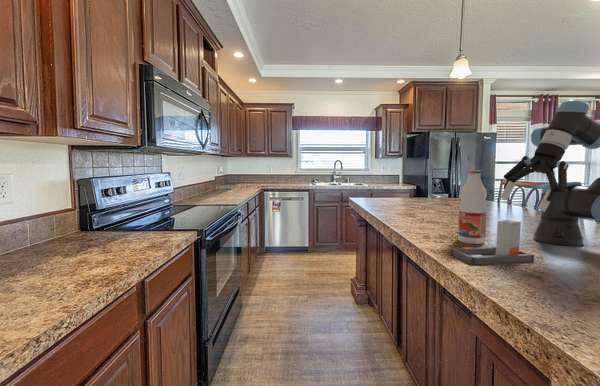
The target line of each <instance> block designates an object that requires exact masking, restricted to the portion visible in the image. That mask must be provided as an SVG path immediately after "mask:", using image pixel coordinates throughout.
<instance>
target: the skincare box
mask: <svg viewBox="0 0 600 386" xmlns="http://www.w3.org/2000/svg"><path fill="white" fill-rule="evenodd" d="M521 224H522V222H521V221H519V220H512V219H505V220H503V219H502V220H498V221H497V229H496V230H497V231H496V243H495V244H496V245H495V246H496V254H495V256H496V255H516V254H519V250H520V240H521Z"/></svg>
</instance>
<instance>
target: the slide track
mask: <svg viewBox="0 0 600 386" xmlns="http://www.w3.org/2000/svg"><path fill="white" fill-rule="evenodd" d="M450 255H451V256H453V257H454V258H457V259H459V260H461V261H464V262H466V263H468V264H470V265H472V266H473V265H486V264H487V265H489V264H490V265H491V264H511V263H528V262H530V261H531V262H535V254H532V253H529V252H526V251H523V250H520V249H519V254H516V255H496V245H493V246H488V247H487V246H484V247H483V246H482V247H471V246H466V247H464V246H463V247H461V248H460V247H459V248H450ZM531 262H530V263H531Z"/></svg>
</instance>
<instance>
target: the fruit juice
mask: <svg viewBox="0 0 600 386" xmlns="http://www.w3.org/2000/svg"><path fill="white" fill-rule="evenodd" d="M466 174H467V179H466V180H465V184H464V185H463V186H462V188H461V190H460V192H459V195H460V198H461V201H460V202H459V205H458V206H459V208H458V230H457V231H458V237H457V238H458V241H459V242H460V243H463V244H464V243H465V244H469V245H482V244H485V241H486V234H487V233H486V229H487V204H486V199H487V196H488V195H487V194H488V192H487V189H486V188H485V186H484V185H483V182H482V179H481V175H482V170H480V169H479V170H478V169H477V170H475V169H474V170H473V169H472V170H470V169H469V170H467V171H466Z"/></svg>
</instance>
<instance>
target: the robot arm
mask: <svg viewBox="0 0 600 386" xmlns="http://www.w3.org/2000/svg"><path fill="white" fill-rule="evenodd" d="M589 109H590V107H589V105H588V103H587V102H585V101H582V100H577V99H567V100H564V101H562V102H561V103H560V105H559V107H558V109H557V110H555V113H554V115H553V117H552V119H551V121H550V123H549V125H547V126H546V125H545V126H540V127H536V128H534V129H533V131H532V132H531V134H530V141H531V142H530V143H532V145H533V146H535V147H536V149H535V151H534V153H533V154H534V155H533V157H528V156H527V155H523V157H522V158H521V159H520V160H519V162H518V163H516V164H515V166H513V167H512V168H511V169H510V170H509V171H507V172H506V173H505V174H504V175H503V178H504V179H505V180H506V182H505V184H504V186H503V187H502V189H503V191H502V193H501V195H500V197H499V198H500V199H502V200H504V201H508V198H509V197H510V195H511V194H512V192H513V190H514V187H515V186H516V183H515V182H517V181H519V180H521V179H522V178H524V177H526V176H528V175H529V174H533V173H538V174H540V173H541V174H543V175H546V178H547V181H548V183H545V184H543V186H542V188H541V189H542V190H541V194H540V195H541V196H540V197H541V198H540V199H541V200H540V202H539V205H538V207H537V209H538V210H540V218H539V222H538V225H537V227H536V230H535V231H534V232H533V239H534V240H535V241H538V242H541V243H544V244H551V245H558V246H570V247H571V246H573V247H575V246H582V245H584V237H583V236H582V235H583V234H582V230H581V228H580V224H579V219H587V220H592V221H598V222H600V176H599V177H597V178H595V180H594V181H593V182H592V183H590V185H588V186H586V185H582V182H581V181H568V179H567V177H568V176H567V175H568V173H567V171H568V168H569V166H570V165H569V164H568V163H567V162H566V161H565V160H562V158H563V157H564V155H565V153H566V150H567V149H568V148H569V146H578V145H579V146H582V147H583V148H586V149H588V150H596V149H599V148H600V119H596V120H594V119H593V118H590V117H589V116H588V115H587V114H588V113H589V112H588V111H589ZM556 168H557V179H556V176H555V174H556V173H555V171H554V170H555V169H556Z"/></svg>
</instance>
